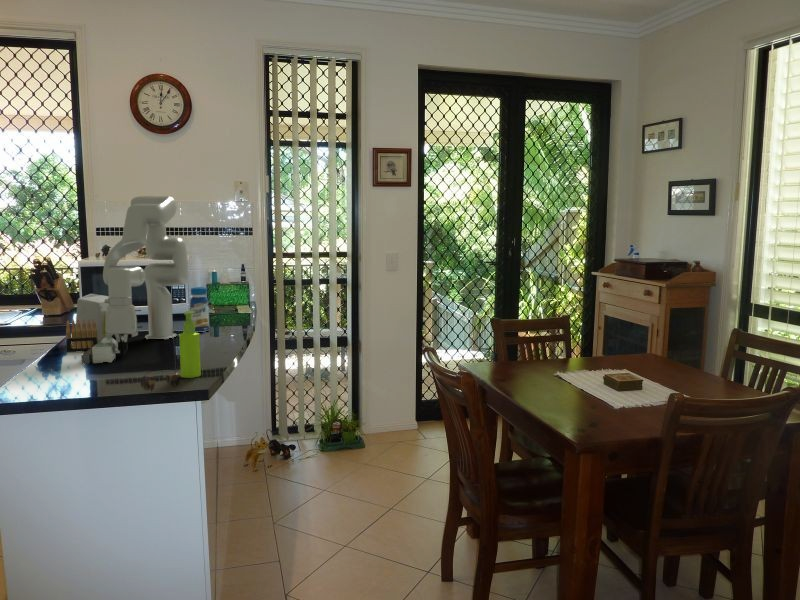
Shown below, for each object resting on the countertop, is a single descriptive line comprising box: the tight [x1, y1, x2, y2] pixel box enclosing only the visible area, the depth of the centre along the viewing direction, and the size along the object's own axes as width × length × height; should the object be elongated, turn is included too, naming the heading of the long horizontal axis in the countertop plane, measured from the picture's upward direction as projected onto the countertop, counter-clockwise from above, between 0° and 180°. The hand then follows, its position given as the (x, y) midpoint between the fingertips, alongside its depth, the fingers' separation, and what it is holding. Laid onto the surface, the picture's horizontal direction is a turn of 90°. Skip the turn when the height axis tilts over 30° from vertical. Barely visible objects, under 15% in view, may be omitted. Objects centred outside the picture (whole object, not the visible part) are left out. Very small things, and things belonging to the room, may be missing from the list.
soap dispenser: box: [178, 310, 202, 379], centre depth 192 cm, size 6×7×20 cm
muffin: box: [101, 338, 117, 351], centre depth 222 cm, size 6×6×7 cm
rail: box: [80, 335, 124, 365], centre depth 222 cm, size 24×9×6 cm, turn 14°
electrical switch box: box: [75, 293, 109, 345], centre depth 251 cm, size 15×15×20 cm
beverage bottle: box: [189, 286, 211, 331], centre depth 278 cm, size 8×8×20 cm
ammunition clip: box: [65, 319, 98, 353], centre depth 233 cm, size 11×2×12 cm, turn 108°
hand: (123, 352), depth 224 cm, fingers closed
